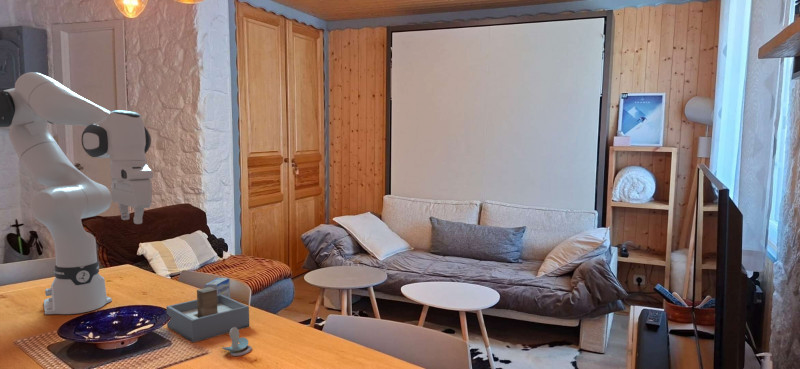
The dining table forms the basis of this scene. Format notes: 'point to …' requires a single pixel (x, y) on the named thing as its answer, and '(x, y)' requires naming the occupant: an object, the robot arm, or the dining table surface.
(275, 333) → the dining table surface
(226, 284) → the medicine box
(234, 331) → the pacifier
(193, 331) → the bin
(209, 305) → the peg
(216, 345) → the dining table surface
